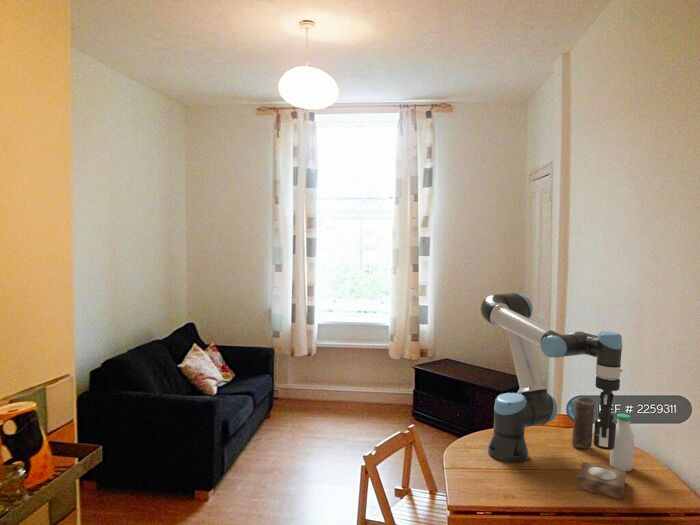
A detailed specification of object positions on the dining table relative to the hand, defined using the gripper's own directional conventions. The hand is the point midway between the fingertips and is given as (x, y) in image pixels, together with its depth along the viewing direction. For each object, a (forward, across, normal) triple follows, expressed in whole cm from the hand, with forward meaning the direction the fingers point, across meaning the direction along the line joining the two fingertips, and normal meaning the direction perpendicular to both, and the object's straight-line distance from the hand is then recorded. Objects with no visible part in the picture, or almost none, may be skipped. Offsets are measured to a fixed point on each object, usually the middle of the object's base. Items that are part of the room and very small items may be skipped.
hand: (604, 442), depth 182 cm
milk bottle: (+16, +20, -5) cm, 26 cm away
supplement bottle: (+2, 0, 0) cm, 2 cm away
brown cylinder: (+16, +32, +10) cm, 37 cm away
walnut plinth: (+15, 0, 0) cm, 15 cm away
